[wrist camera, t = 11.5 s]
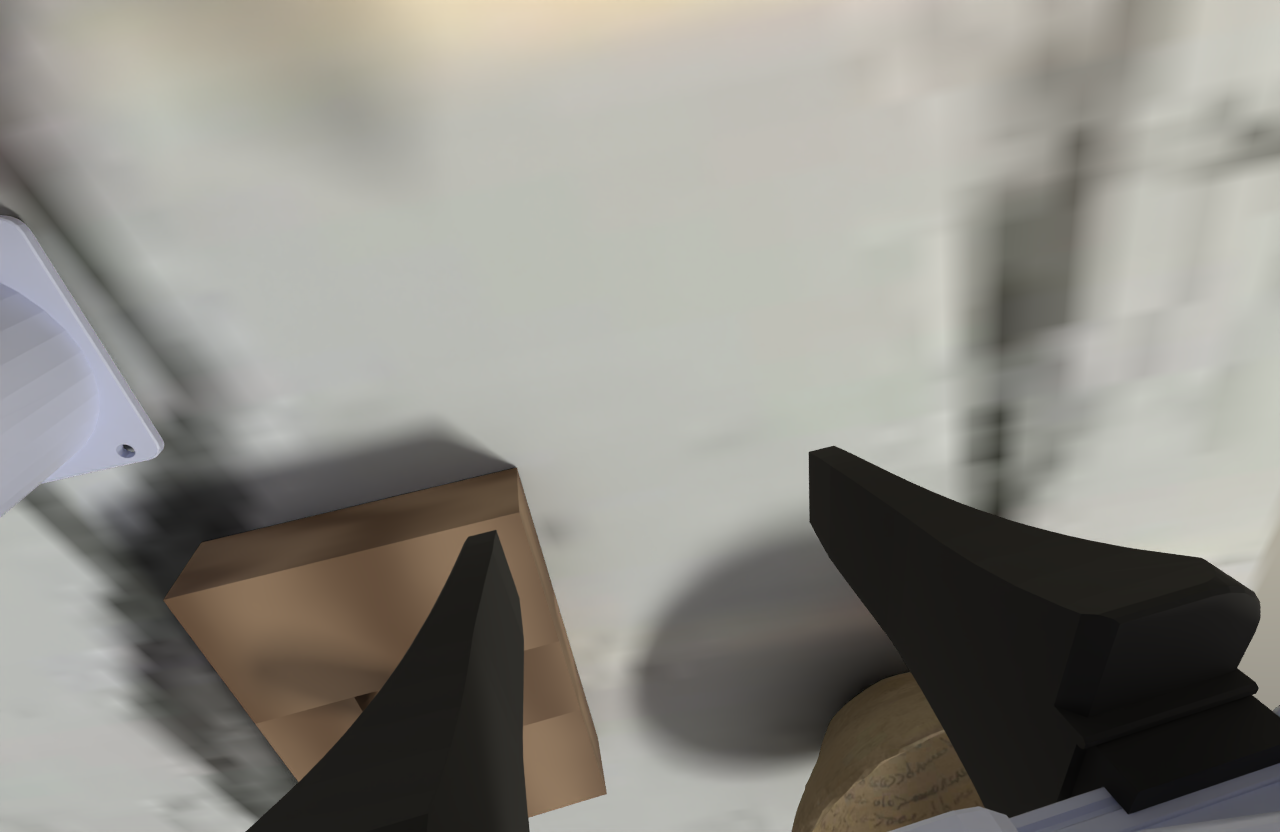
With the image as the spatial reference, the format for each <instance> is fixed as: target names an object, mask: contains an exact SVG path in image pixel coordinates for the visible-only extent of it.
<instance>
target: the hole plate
mask: <svg viewBox="0 0 1280 832" xmlns="http://www.w3.org/2000/svg"><path fill="white" fill-rule="evenodd" d="M493 530H497V533H498V536H499V539H500V542H501V545H502V548H503V551H504V554H505V557H506V560H507V563H508V566H509V569H510V572H511V574H512V577H513V580H514V583H515V586H516V589H517V592H518V595H519V598H520V607H521V616H522V625H523V635H524V693H523V762H524V774H525V787H526V799H527V810H528V818H529V817H532V816H535V815H539V814H542V813H545V812H548V811H552V810H555V809H558V808H562V807H565V806H568V805H572V804H575V803H578V802H581V801H585V800H588V799H591V798H595V797H598V796H601V795H605V794H607V793H606V786H605V780H604V774H603V768H602V761H601V755H600V749H599V742H598V737H597V734H596V731H595V727H594V724H593V721H592V717H591V714H590V711H589V707H588V704H587V701H586V697H585V694H584V691H583V687H582V684H581V680H580V677H579V674H578V670H577V667H576V664H575V660H574V657H573V654H572V650H571V647H570V644H569V640H568V637H567V634H566V630H565V627H564V624H563V620H562V617H561V614H560V610H559V607H558V604H557V600H556V597H555V594H554V590H553V587H552V584H551V580H550V577H549V574H548V570H547V567H546V564H545V560H544V557H543V554H542V550H541V547H540V544H539V540H538V537H537V534H536V530H535V527H534V523H533V520H532V517H531V513H530V510H529V507H528V503H527V500H526V497H525V493H524V490H523V487H522V483H521V480H520V477H519V473H518V470H517V468H513V469H508V470H504V471H500V472H496V473H492V474H487V475H483V476H479V477H475V478H471V479H466V480H462V481H458V482H454V483H450V484H445V485H441V486H437V487H433V488H429V489H424V490H420V491H416V492H412V493H408V494H403V495H399V496H395V497H391V498H387V499H382V500H378V501H374V502H370V503H366V504H361V505H357V506H353V507H349V508H345V509H340V510H336V511H332V512H328V513H324V514H319V515H315V516H311V517H307V518H303V519H298V520H294V521H290V522H286V523H282V524H277V525H273V526H269V527H265V528H261V529H256V530H252V531H248V532H244V533H240V534H235V535H231V536H227V537H223V538H219V539H214V540H210V541H206V542H202V543H201V544H200V545H199V547H198V548H197V550H196V551H195V553H194V554H193V556H192V557H191V559H190V560H189V562H188V563H187V565H186V566H185V568H184V569H183V571H182V572H181V574H180V575H179V577H178V578H177V580H176V581H175V583H174V584H173V586H172V587H171V589H170V590H169V592H168V593H167V595H166V596H165V598H164V599H163V600H164V602H165V603H166V605H167V606H168V607H169V609H170V610H171V611H172V613H173V614H174V615H175V617H176V618H177V619H178V621H179V622H180V623H181V625H182V626H183V627H184V629H185V630H186V631H187V633H188V634H189V635H190V637H191V638H192V639H193V641H194V642H195V643H196V645H197V646H198V648H199V649H200V650H201V652H202V653H203V654H204V656H205V657H206V658H207V660H208V661H209V662H210V664H211V665H212V666H213V668H214V669H215V670H216V672H217V673H218V674H219V676H220V677H221V678H222V680H223V681H224V682H225V684H226V685H227V686H228V688H229V689H230V691H231V692H232V693H233V695H234V696H235V697H236V699H237V700H238V701H239V703H240V704H241V705H242V707H243V708H244V709H245V711H246V712H247V713H248V715H249V716H250V717H251V719H252V720H253V721H254V723H255V724H256V725H257V727H258V728H259V729H260V731H261V732H262V733H263V735H264V736H265V738H266V739H267V740H268V742H269V743H270V744H271V746H272V747H273V748H274V750H275V751H276V752H277V754H278V755H279V756H280V758H281V759H282V760H283V762H284V763H285V764H286V766H287V767H288V768H289V770H290V771H291V772H292V774H293V775H294V776H295V778H296V779H297V781H298V782H299V781H300V780H301V779H302V778H303V777H304V776H305V775H306V774H307V773H308V772H309V771H310V770H311V769H312V768H313V767H314V766H315V765H316V764H317V763H318V762H319V761H320V760H321V759H322V758H323V757H324V756H325V755H326V753H327V752H328V751H329V750H330V749H331V748H332V747H333V746H334V745H335V744H336V743H337V741H338V740H339V739H340V738H341V737H342V736H343V735H344V734H345V733H346V731H347V730H348V729H349V728H350V727H351V725H352V724H353V723H354V722H355V720H356V719H357V718H358V717H359V716H360V714H361V713H362V712H363V711H364V710H365V708H366V707H367V706H368V705H369V704H370V702H371V701H372V700H373V699H374V697H375V696H376V695H377V693H378V692H379V691H380V689H381V688H382V687H383V685H384V684H385V683H386V681H387V680H388V678H389V677H390V676H391V674H392V673H393V671H394V670H395V668H396V667H397V666H398V664H399V663H400V661H401V660H402V658H403V657H404V655H405V654H406V652H407V650H408V649H409V647H410V646H411V644H412V642H413V641H414V639H415V637H416V636H417V634H418V632H419V631H420V629H421V627H422V626H423V624H424V622H425V621H426V619H427V617H428V615H429V614H430V612H431V610H432V608H433V606H434V604H435V602H436V600H437V598H438V597H439V595H440V593H441V591H442V589H443V587H444V585H445V583H446V581H447V579H448V577H449V575H450V573H451V571H452V569H453V566H454V564H455V562H456V560H457V558H458V556H459V553H460V551H461V549H462V547H463V544H464V542H465V541H466V539H467V538H468V537H469V536H473V535H477V534H481V533H485V532H489V531H493Z"/></svg>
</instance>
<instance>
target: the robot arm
mask: <svg viewBox="0 0 1280 832" xmlns="http://www.w3.org/2000/svg"><path fill="white" fill-rule="evenodd" d="M123 444H126V445H129V446H131V447H132V448H133V449H134V450H135V452H130V451H128V450H126V449H125V448H124V447H123ZM163 449H164V442H163V439H162V438H161V436H160V434H159V433H158V431H157V430H156V428H155V426H154V425H153V423H152V422H151V420H150V418H149V417H148V415H147V414H146V412H145V411H144V409H143V407H142V406H141V404H140V403H139V401H138V399H137V398H136V396H135V395H134V393H133V391H132V390H131V388H130V387H129V385H128V384H127V382H126V380H125V379H124V377H123V376H122V374H121V372H120V371H119V369H118V368H117V366H116V365H115V363H114V361H113V360H112V358H111V357H110V355H109V353H108V352H107V350H106V349H105V347H104V345H103V344H102V342H101V341H100V339H99V338H98V336H97V334H96V333H95V331H94V330H93V328H92V326H91V325H90V323H89V322H88V320H87V319H86V317H85V315H84V314H83V312H82V311H81V309H80V307H79V306H78V304H77V303H76V301H75V299H74V298H73V296H72V295H71V293H70V292H69V290H68V288H67V287H66V285H65V284H64V282H63V280H62V279H61V277H60V276H59V274H58V272H57V271H56V269H55V268H54V266H53V265H52V263H51V261H50V260H49V258H48V257H47V255H46V253H45V252H44V250H43V249H42V247H41V246H40V244H39V242H38V241H37V239H36V238H35V236H34V234H33V233H32V231H31V230H30V229H29V228H28V226H27V225H26V224H25V223H23V222H22V221H20V220H19V219H17V218H14V217H11V216H5V215H0V518H1V517H2V516H3V515H4V514H5V513H6V512H8V511H9V510H10V509H11V508H12V507H14V506H15V505H16V504H17V503H18V502H19V501H21V500H22V499H23V498H24V497H25V496H27V495H28V494H29V493H30V492H31V491H32V490H34V489H35V488H36V487H37V486H38V485H40V484H42V483H46V482H51V481H55V480H60V479H64V478H69V477H74V476H78V475H83V474H87V473H92V472H96V471H101V470H105V469H110V468H114V467H119V466H123V465H128V464H132V463H137V462H141V461H146V460H150V459H153V458H155V457H157V455H158V454H159V453H160V452H161V451H162V450H163ZM809 509H810V523H811V525H812V527H813V529H814V531H815V533H816V535H817V536H818V538H819V540H820V542H821V544H822V545H823V547H824V549H825V551H826V552H827V554H828V556H829V558H830V559H831V561H832V562H833V563H834V565H835V566H836V567H837V569H838V570H839V572H840V573H841V574H842V576H843V577H844V578H845V580H846V581H847V582H848V584H849V585H850V586H851V588H852V589H853V590H854V592H855V593H856V594H857V596H858V597H859V598H860V600H861V601H862V602H863V604H864V605H865V606H866V608H867V609H868V610H869V612H870V613H871V614H872V616H873V617H874V618H875V620H876V621H877V622H878V624H879V625H880V626H881V628H882V629H883V630H884V632H885V633H886V634H887V636H888V637H889V639H890V640H891V642H892V643H893V645H894V646H895V648H896V649H897V650H898V652H899V654H900V655H901V657H902V659H903V660H904V662H905V664H906V665H907V667H908V669H909V670H910V672H911V674H912V675H913V677H914V679H915V680H916V682H917V684H918V685H919V687H920V689H921V690H922V692H923V694H924V696H925V697H926V699H927V701H928V703H929V704H930V706H931V708H932V710H933V711H934V713H935V715H936V717H937V718H938V720H939V722H940V724H941V725H942V727H943V729H944V731H945V732H946V734H947V736H948V738H949V740H950V742H951V744H952V746H953V747H954V749H955V751H956V753H957V755H958V757H959V759H960V760H961V762H962V764H963V766H964V768H965V770H966V772H967V774H968V775H969V777H970V779H971V781H972V783H973V785H974V787H975V789H976V791H977V793H978V795H979V797H980V799H981V801H982V803H983V805H984V807H985V808H982V807H979V806H977V807H972V808H966V809H960V810H954V811H950V812H947V813H944V814H941V815H937V816H934V817H931V818H928V819H925V820H922V821H919V822H916V823H913V824H910V825H907V826H904V827H901V828H898V829H895V830H892V831H889V832H1280V705H1279V706H1278V707H1276V708H1275V709H1274V710H1273V711H1271V710H1270V709H1269V708H1268V707H1266V706H1265V705H1264V704H1262V703H1261V702H1260V701H1259V700H1257V699H1256V698H1255V697H1254V696H1252V695H1253V694H1256V692H1257V691H1258V686H1257V684H1256V683H1255V682H1254V681H1253V680H1252V679H1250V678H1249V677H1248V676H1246V675H1245V674H1244V673H1243V672H1241V671H1240V670H1239V669H1237V667H1238V665H1239V663H1240V661H1241V659H1242V657H1243V655H1244V653H1245V651H1246V649H1247V647H1248V645H1249V643H1250V641H1251V639H1252V637H1253V635H1254V633H1255V632H1256V628H1257V626H1258V623H1259V621H1260V601H1259V599H1258V598H1257V596H1256V594H1255V593H1254V592H1253V591H1252V590H1250V589H1248V588H1247V587H1245V586H1244V585H1242V584H1241V583H1239V582H1238V581H1236V580H1235V579H1233V578H1232V577H1230V576H1229V575H1227V574H1226V573H1224V572H1223V571H1221V570H1220V569H1218V568H1217V567H1215V566H1214V565H1212V564H1211V563H1209V562H1207V561H1206V560H1204V559H1203V558H1198V557H1191V556H1184V555H1176V554H1169V553H1161V552H1154V551H1147V550H1139V549H1133V548H1127V547H1121V546H1116V545H1111V544H1106V543H1100V542H1095V541H1090V540H1085V539H1081V538H1076V537H1072V536H1067V535H1063V534H1059V533H1055V532H1051V531H1047V530H1043V529H1040V528H1036V527H1032V526H1028V525H1025V524H1021V523H1018V522H1014V521H1011V520H1008V519H1005V518H1002V517H999V516H996V515H993V514H990V513H987V512H984V511H981V510H977V509H975V508H972V507H969V506H967V505H964V504H961V503H959V502H956V501H954V500H951V499H949V498H946V497H944V496H941V495H939V494H937V493H934V492H932V491H929V490H927V489H925V488H923V487H920V486H918V485H916V484H914V483H911V482H909V481H907V480H905V479H903V478H901V477H899V476H896V475H894V474H892V473H890V472H888V471H886V470H884V469H882V468H880V467H878V466H876V465H874V464H872V463H870V462H867V461H865V460H863V459H861V458H859V457H857V456H855V455H853V454H851V453H849V452H847V451H845V450H842V449H840V448H838V447H835V446H831V447H827V448H823V449H819V450H815V451H811V452H809ZM523 693H524V635H523V625H522V616H521V607H520V598H519V595H518V592H517V589H516V586H515V583H514V580H513V577H512V574H511V572H510V569H509V566H508V563H507V560H506V557H505V554H504V551H503V548H502V545H501V542H500V539H499V536H498V533H497V530H493V531H489V532H485V533H481V534H477V535H473V536H469V537H468V538H467V539H466V541H465V542H464V544H463V547H462V549H461V551H460V553H459V556H458V558H457V560H456V562H455V564H454V566H453V569H452V571H451V573H450V575H449V577H448V579H447V581H446V583H445V585H444V587H443V589H442V591H441V593H440V595H439V597H438V598H437V600H436V602H435V604H434V606H433V608H432V610H431V612H430V614H429V615H428V617H427V619H426V621H425V622H424V624H423V626H422V627H421V629H420V631H419V632H418V634H417V636H416V637H415V639H414V641H413V642H412V644H411V646H410V647H409V649H408V650H407V652H406V654H405V655H404V657H403V658H402V660H401V661H400V663H399V664H398V666H397V667H396V668H395V670H394V671H393V673H392V674H391V676H390V677H389V678H388V680H387V681H386V683H385V684H384V685H383V687H382V688H381V689H380V691H379V692H378V693H377V695H376V696H375V697H374V699H373V700H372V701H371V702H370V704H369V705H368V706H367V707H366V708H365V710H364V711H363V712H362V713H361V714H360V716H359V717H358V718H357V719H356V720H355V722H354V723H353V724H352V725H351V727H350V728H349V729H348V730H347V731H346V733H345V734H344V735H343V736H342V737H341V738H340V739H339V740H338V741H337V743H336V744H335V745H334V746H333V747H332V748H331V749H330V750H329V751H328V752H327V753H326V755H325V756H324V757H323V758H322V759H321V760H320V761H319V762H318V763H317V764H316V765H315V766H314V767H313V768H312V769H311V770H310V771H309V772H308V773H307V774H306V775H305V776H304V777H303V778H302V779H301V780H300V781H299V782H298V783H297V784H296V785H295V786H294V787H293V788H292V789H291V790H290V791H289V792H288V793H287V794H286V795H285V796H284V797H283V798H282V799H281V800H279V801H278V802H277V803H276V804H275V805H274V806H273V807H272V808H271V809H270V810H269V811H268V812H267V813H265V814H264V815H263V816H262V817H261V818H260V819H259V820H258V821H257V822H256V823H255V824H254V825H252V826H251V827H250V828H249V829H248V830H247V831H246V832H530V831H529V821H528V810H527V799H526V787H525V774H524V762H523Z"/></svg>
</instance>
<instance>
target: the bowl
mask: <svg viewBox="0 0 1280 832" xmlns="http://www.w3.org/2000/svg"><path fill="white" fill-rule="evenodd" d="M977 806H979V807H982V808H985V807H984V805H983V803H982V801H981V799H980V797H979V795H978V793H977V791H976V789H975V787H974V785H973V783H972V781H971V779H970V777H969V775H968V774H967V772H966V770H965V768H964V766H963V764H962V762H961V760H960V759H959V757H958V755H957V753H956V751H955V749H954V747H953V746H952V744H951V742H950V740H949V738H948V736H947V734H946V732H945V731H944V729H943V727H942V725H941V724H940V722H939V720H938V718H937V717H936V715H935V713H934V711H933V710H932V708H931V706H930V704H929V703H928V701H927V699H926V697H925V696H924V694H923V692H922V690H921V689H920V687H919V685H918V684H917V682H916V680H915V679H914V677H913V675H912V674H911V672H908V673H903V674H898V675H895V676H892V677H888V678H885V679H882V680H881V681H879V682H877V683H875V684H873V685H872V686H870V687H869V688H867V689H866V690H864V691H863V692H861V693H860V694H858V695H857V696H856V697H854V698H853V699H852V700H850V701H849V702H848V703H847V704H845V705H844V706H843V707H842V708H841V709H840V710H839V711H838V712H837V714H836V715H835V716H834V717H833V718H832V720H831V721H830V723H829V725H828V728H827V731H826V733H825V736H824V739H823V742H822V745H821V749H820V753H819V757H818V760H817V763H816V765H815V767H814V769H813V771H812V773H811V776H810V778H809V780H808V782H807V784H806V786H805V791H804V793H803V796H802V798H801V801H800V803H799V806H798V809H797V812H796V816H795V819H794V823H793V828H792V832H889V831H892V830H895V829H898V828H901V827H904V826H907V825H910V824H913V823H916V822H919V821H922V820H925V819H928V818H931V817H934V816H937V815H941V814H944V813H947V812H950V811H954V810H960V809H966V808H972V807H977Z"/></svg>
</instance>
